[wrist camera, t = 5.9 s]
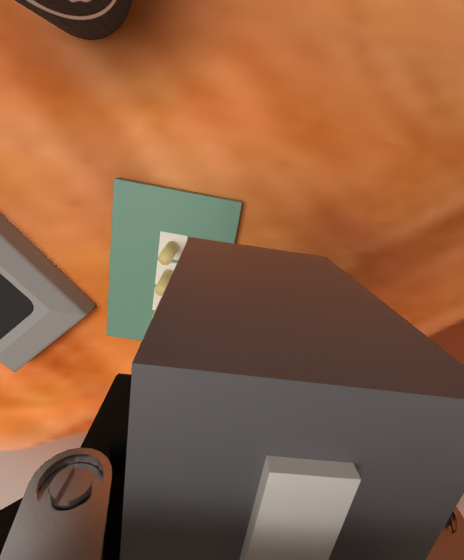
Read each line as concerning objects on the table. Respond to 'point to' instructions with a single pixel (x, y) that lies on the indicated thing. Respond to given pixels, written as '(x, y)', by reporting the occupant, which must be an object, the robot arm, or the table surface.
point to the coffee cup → (82, 15)
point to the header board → (156, 246)
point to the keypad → (33, 299)
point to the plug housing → (286, 417)
